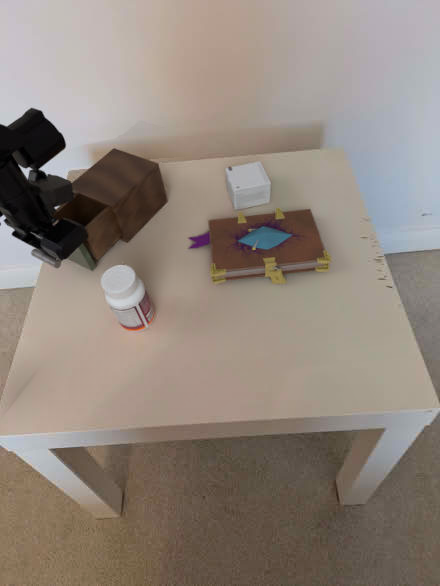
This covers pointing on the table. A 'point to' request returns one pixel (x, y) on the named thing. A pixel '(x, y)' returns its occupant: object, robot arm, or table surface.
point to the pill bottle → (127, 298)
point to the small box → (248, 185)
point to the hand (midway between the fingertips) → (57, 256)
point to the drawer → (97, 225)
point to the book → (264, 246)
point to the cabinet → (124, 189)
